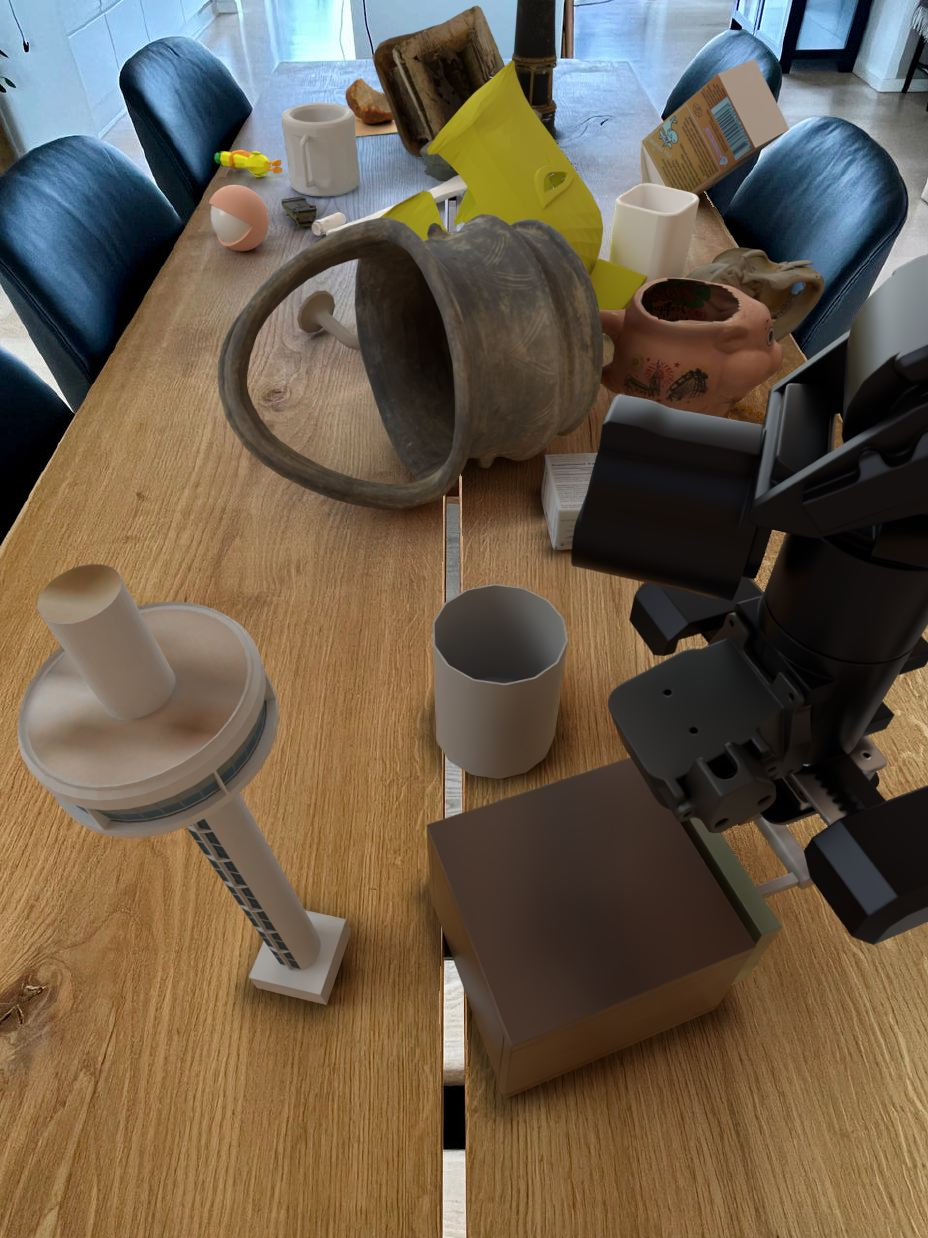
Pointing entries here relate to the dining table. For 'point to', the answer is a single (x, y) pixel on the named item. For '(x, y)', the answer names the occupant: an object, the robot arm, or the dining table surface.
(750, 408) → the keychain
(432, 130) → the brown square vessel
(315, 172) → the mug
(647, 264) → the cup
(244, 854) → the model tower
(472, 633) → the cup
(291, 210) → the dark green crate
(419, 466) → the ancient clay pot
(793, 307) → the skull
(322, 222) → the small white plastic part
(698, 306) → the decorative planter
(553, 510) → the box
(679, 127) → the milk carton
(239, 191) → the toy ball
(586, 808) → the cabinet
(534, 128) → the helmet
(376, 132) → the bread chunk
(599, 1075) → the dining table surface
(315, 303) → the toilet paper hanger
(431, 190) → the spatula
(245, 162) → the toy figure
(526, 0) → the black tall cylinder
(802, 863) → the drawer
